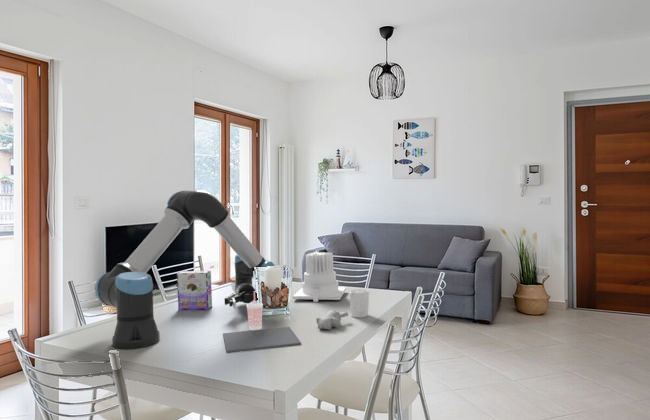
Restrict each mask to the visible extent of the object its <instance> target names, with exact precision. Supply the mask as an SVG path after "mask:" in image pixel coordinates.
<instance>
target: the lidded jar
mask: <svg viewBox="0 0 650 420" xmlns="http://www.w3.org/2000/svg"><path fill="white" fill-rule="evenodd" d="M230 284H231V285H230V287H231V290H232V291H233V293H234V294H235V295H237V293H236V291H235V277H232V278H230Z"/></svg>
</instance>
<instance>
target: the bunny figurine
mask: <svg viewBox="0 0 650 420" xmlns="http://www.w3.org/2000/svg"><path fill="white" fill-rule="evenodd" d="M345 317H349V313H348V311H343V312H339V311H335V310H327V311H325V313H324V315H322V316H318V317H316V318H315V320H316V321H315V322H316V324H317V328H318V329H320V330H328V331H331V330H333V328H335V327H341V320H342V318H345Z"/></svg>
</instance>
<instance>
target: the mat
mask: <svg viewBox="0 0 650 420" xmlns="http://www.w3.org/2000/svg"><path fill="white" fill-rule="evenodd" d="M222 337H223V342H224V346H225V351H226V353H227V354H228V353H236V352H244V351H245V352H246V351H252V350H263V349H272V348H273V349H274V348H279V347H281V348H282V347H290V346H291V347H292V346H298V345H302V342H301V340H300V339H299V338H298V336H297V335H296V334H295V332H294V331H293V330H292V329H291V327H290V326H283V327H273V328H261V329H260V330H243V331H232V332H231V331H230V332H223V333H222Z"/></svg>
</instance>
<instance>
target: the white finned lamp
mask: <svg viewBox="0 0 650 420" xmlns="http://www.w3.org/2000/svg"><path fill="white" fill-rule="evenodd" d="M336 273H337V272H336V271H334V254H333V253H332V252H324V251H323V252H319V251H313V252H311V253H307V254H305V272H304V274H303V278H304V279H303V281H302V282H301V288H300V289H299V290H298V291H296V293H294V295H293V296H292V300H313V302H314V303H318V302H319V300H321V301H322V300H325V301H326V300H331V301H332V300H334V301H335V300H336V301H338V300H339V301H340V300H341V299H342V297H343V295H344V294H345V292H346V291H347V287H346V286H339V281H338V280H337V274H336Z"/></svg>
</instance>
